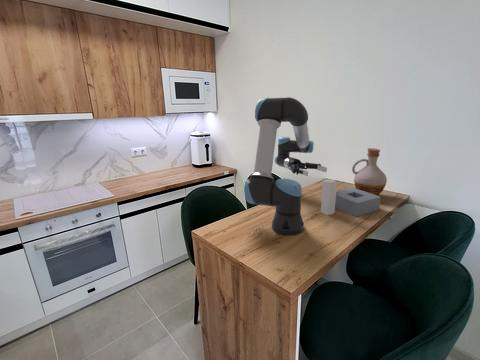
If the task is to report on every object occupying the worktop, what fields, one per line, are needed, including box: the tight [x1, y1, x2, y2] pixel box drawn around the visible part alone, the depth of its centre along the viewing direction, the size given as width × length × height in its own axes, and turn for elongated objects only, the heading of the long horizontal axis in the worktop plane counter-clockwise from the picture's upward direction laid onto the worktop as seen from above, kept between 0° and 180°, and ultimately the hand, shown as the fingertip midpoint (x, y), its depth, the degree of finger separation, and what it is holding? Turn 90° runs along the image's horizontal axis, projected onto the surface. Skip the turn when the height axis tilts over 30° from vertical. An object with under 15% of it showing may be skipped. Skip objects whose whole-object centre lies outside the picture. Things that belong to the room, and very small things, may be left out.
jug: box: [351, 147, 388, 196], centre depth 153 cm, size 20×18×30 cm
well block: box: [335, 187, 381, 217], centre depth 140 cm, size 18×18×8 cm
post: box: [320, 178, 338, 216], centre depth 133 cm, size 5×5×18 cm
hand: (317, 171), depth 138 cm, fingers open, 13 cm apart
